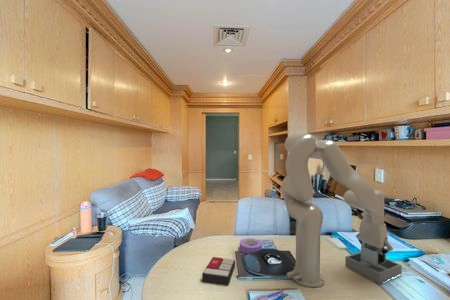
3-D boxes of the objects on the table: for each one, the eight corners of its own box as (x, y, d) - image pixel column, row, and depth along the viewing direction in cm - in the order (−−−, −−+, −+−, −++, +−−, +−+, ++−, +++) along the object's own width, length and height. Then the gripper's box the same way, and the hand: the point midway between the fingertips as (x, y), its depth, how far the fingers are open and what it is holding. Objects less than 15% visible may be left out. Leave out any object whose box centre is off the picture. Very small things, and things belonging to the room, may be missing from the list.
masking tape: (248, 242, 127) (248, 236, 127) (266, 249, 119) (266, 242, 119) (235, 249, 119) (235, 242, 119) (252, 257, 111) (252, 250, 111)
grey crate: (379, 285, 89) (379, 273, 89) (345, 266, 103) (345, 256, 102) (401, 275, 95) (401, 265, 95) (366, 259, 109) (366, 250, 109)
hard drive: (326, 238, 131) (339, 247, 118) (339, 237, 132) (354, 247, 119) (326, 240, 131) (339, 250, 119) (339, 240, 132) (354, 250, 119)
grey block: (374, 266, 94) (374, 252, 94) (360, 259, 100) (360, 246, 100) (385, 262, 98) (386, 248, 98) (371, 255, 103) (372, 243, 103)
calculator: (235, 258, 103) (228, 275, 89) (235, 268, 103) (228, 286, 89) (212, 255, 106) (201, 271, 91) (212, 265, 106) (201, 282, 91)
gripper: (349, 214, 105) (349, 252, 105) (389, 226, 89) (389, 271, 89) (360, 211, 108) (359, 248, 108) (400, 223, 92) (400, 266, 93)
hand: (373, 258), depth 99 cm, fingers closed on grey block, 6 cm apart
